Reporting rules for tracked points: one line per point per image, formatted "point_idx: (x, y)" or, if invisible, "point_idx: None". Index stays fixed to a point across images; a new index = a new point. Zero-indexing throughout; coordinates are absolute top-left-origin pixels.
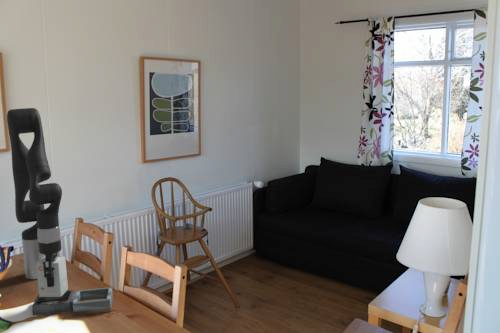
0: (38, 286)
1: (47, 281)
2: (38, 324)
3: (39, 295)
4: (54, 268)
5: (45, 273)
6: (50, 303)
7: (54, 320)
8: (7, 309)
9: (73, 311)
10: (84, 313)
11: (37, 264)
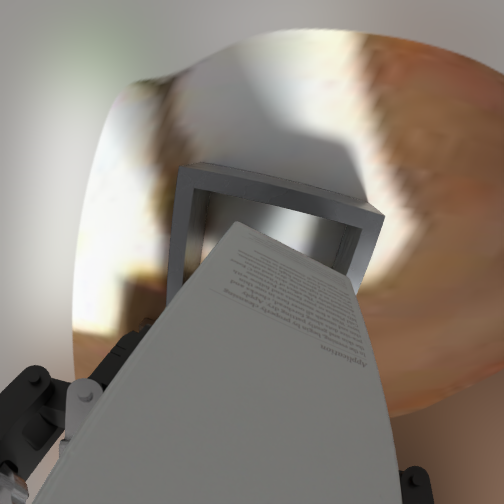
0: (209, 253)
1: (122, 356)
2: (110, 194)
3: (231, 226)
4: None
5: (8, 398)
6: (179, 269)
7: (125, 255)
8: (346, 42)
9: (140, 330)
10: None
11: (38, 498)
